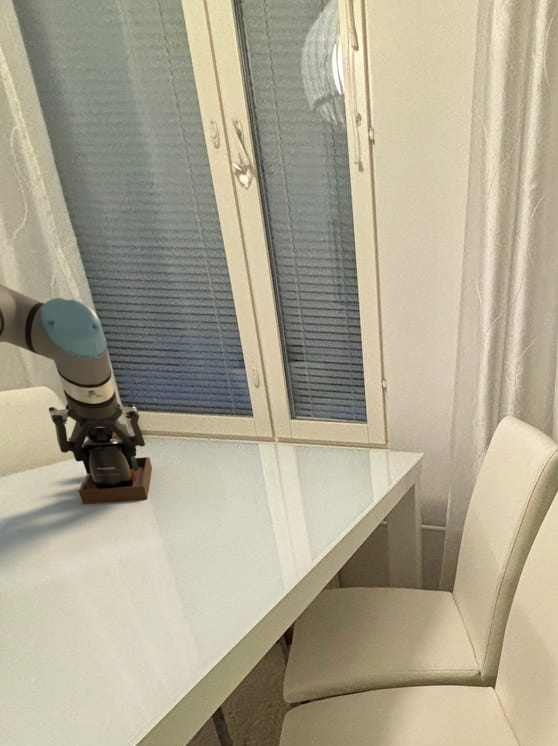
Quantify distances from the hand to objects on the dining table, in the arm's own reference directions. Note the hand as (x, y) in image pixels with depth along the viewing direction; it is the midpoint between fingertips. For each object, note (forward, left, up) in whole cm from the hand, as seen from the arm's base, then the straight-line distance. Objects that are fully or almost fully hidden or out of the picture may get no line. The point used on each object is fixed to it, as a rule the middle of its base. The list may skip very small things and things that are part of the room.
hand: (108, 465), depth 114 cm
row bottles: (+1, +12, -5) cm, 13 cm away
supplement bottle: (+1, -3, -4) cm, 5 cm away
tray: (+1, +6, -5) cm, 8 cm away
